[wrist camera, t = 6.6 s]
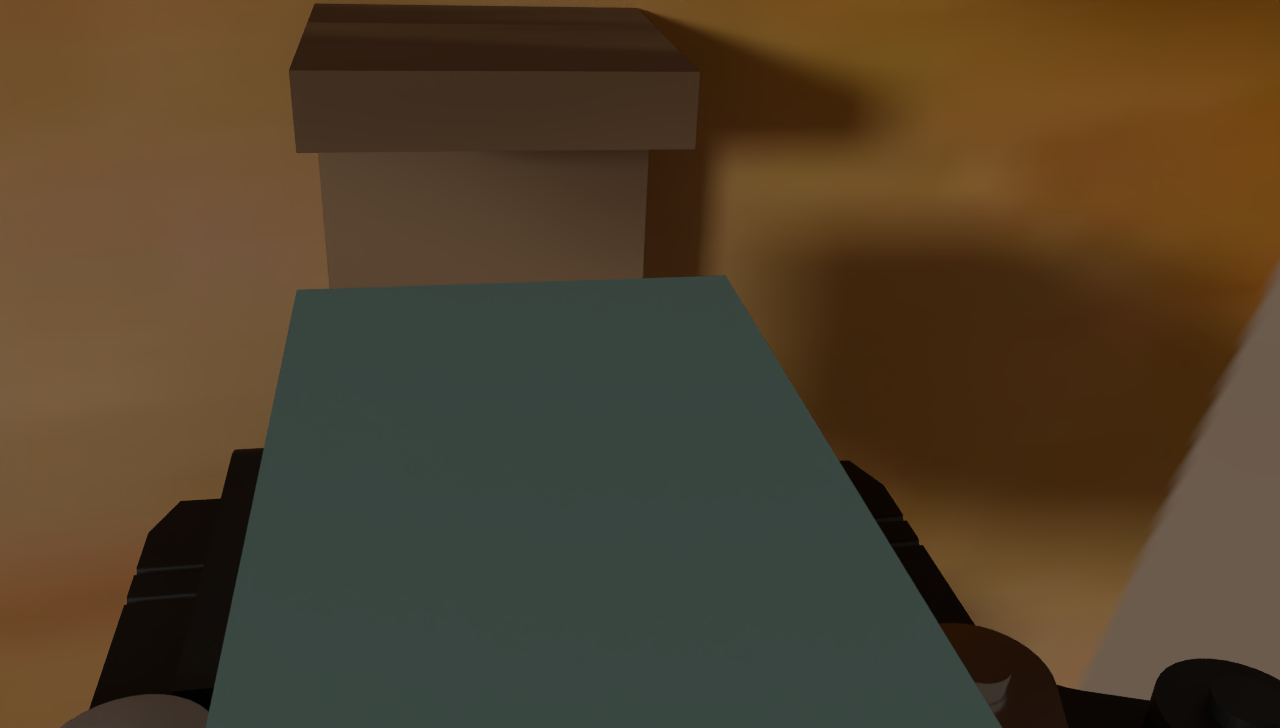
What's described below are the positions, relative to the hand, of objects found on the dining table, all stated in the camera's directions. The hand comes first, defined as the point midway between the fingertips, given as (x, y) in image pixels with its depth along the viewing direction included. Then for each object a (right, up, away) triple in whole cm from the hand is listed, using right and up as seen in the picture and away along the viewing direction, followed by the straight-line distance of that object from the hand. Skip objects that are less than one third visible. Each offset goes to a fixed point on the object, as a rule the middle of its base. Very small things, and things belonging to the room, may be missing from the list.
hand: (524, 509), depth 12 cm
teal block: (0, 0, +1) cm, 1 cm away
